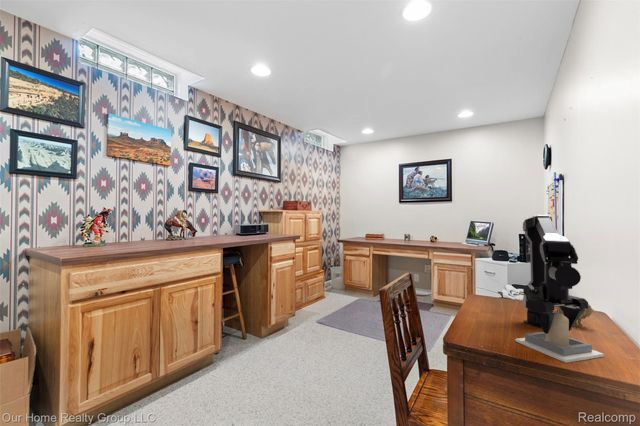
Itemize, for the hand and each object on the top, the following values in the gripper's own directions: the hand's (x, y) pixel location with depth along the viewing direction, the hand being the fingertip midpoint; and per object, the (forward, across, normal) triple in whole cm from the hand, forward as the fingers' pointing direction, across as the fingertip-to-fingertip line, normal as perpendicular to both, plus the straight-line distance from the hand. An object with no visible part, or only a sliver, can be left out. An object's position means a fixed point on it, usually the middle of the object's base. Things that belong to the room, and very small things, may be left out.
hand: (556, 331), depth 90 cm
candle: (+4, 0, 0) cm, 4 cm away
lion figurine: (+5, -31, -16) cm, 35 cm away
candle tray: (+5, 0, 0) cm, 5 cm away
